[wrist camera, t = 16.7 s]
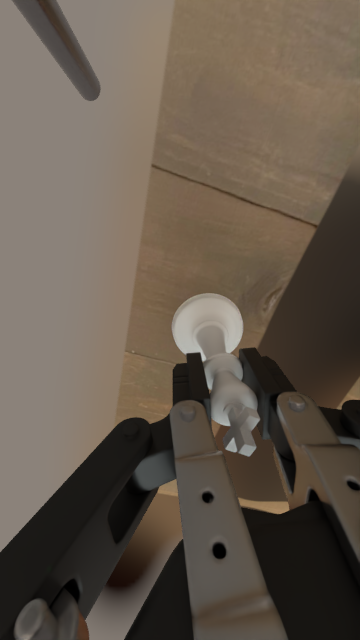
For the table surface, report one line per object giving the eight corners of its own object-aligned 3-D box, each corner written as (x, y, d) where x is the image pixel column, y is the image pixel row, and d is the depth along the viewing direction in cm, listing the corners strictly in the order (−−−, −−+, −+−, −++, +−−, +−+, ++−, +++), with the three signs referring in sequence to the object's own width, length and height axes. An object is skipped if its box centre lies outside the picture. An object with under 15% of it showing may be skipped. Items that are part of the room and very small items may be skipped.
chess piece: (255, 310, 17) (356, 419, 8) (220, 366, 18) (269, 513, 9) (190, 280, 16) (217, 363, 7) (160, 342, 18) (147, 478, 8)
